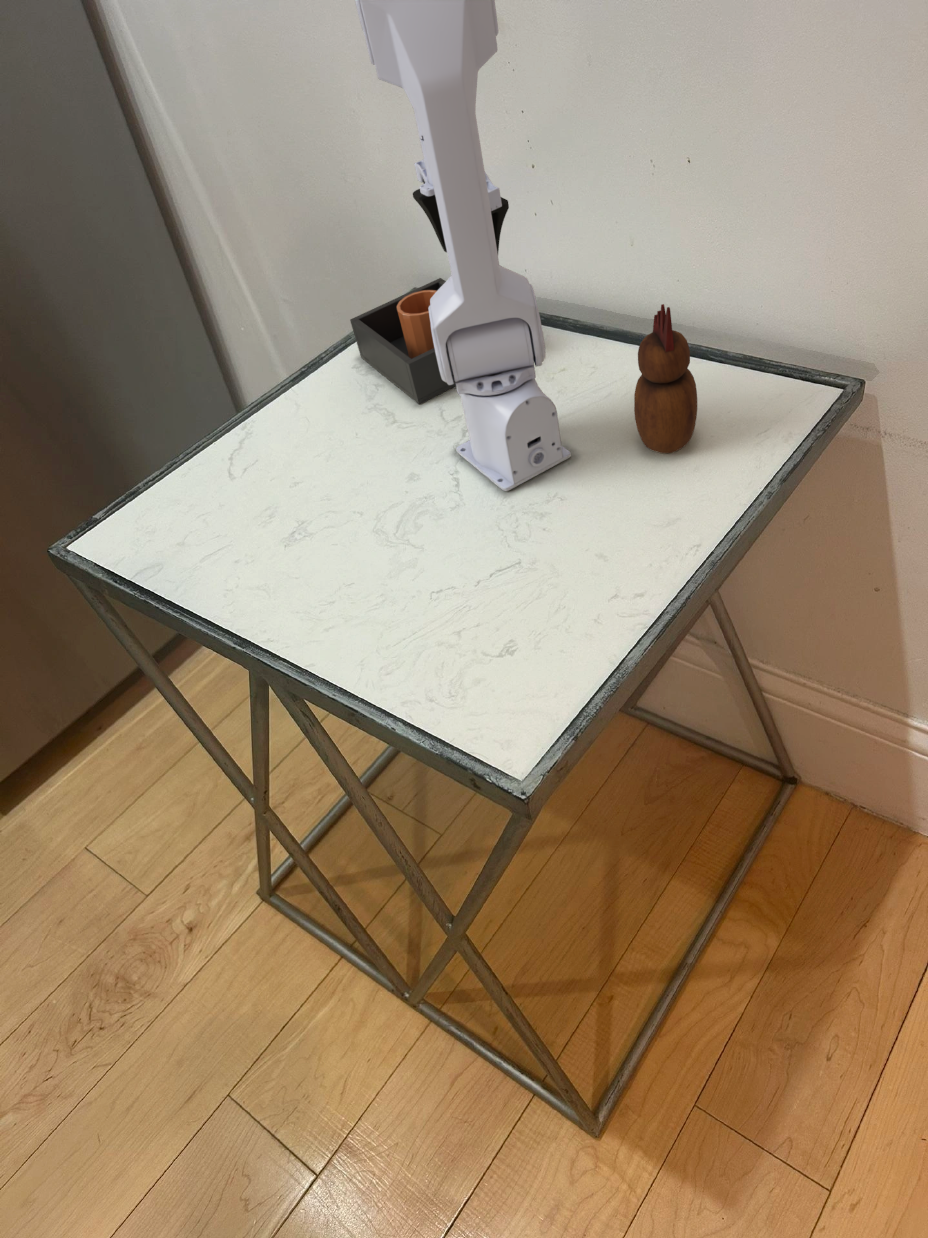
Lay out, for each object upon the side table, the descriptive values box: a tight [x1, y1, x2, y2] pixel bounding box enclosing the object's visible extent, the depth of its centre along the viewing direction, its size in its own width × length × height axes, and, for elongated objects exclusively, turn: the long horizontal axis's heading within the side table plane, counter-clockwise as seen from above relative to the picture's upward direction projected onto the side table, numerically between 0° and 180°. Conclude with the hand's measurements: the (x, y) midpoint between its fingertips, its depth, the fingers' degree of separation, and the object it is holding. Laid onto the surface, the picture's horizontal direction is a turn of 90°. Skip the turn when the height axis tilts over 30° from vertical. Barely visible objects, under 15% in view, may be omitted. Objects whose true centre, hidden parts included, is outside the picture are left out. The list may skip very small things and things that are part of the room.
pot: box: [397, 290, 437, 359], centre depth 108 cm, size 6×6×6 cm
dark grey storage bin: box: [349, 277, 456, 405], centre depth 109 cm, size 15×13×5 cm
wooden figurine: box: [633, 303, 698, 454], centre depth 86 cm, size 7×6×15 cm
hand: (470, 258), depth 106 cm, fingers open, 7 cm apart
